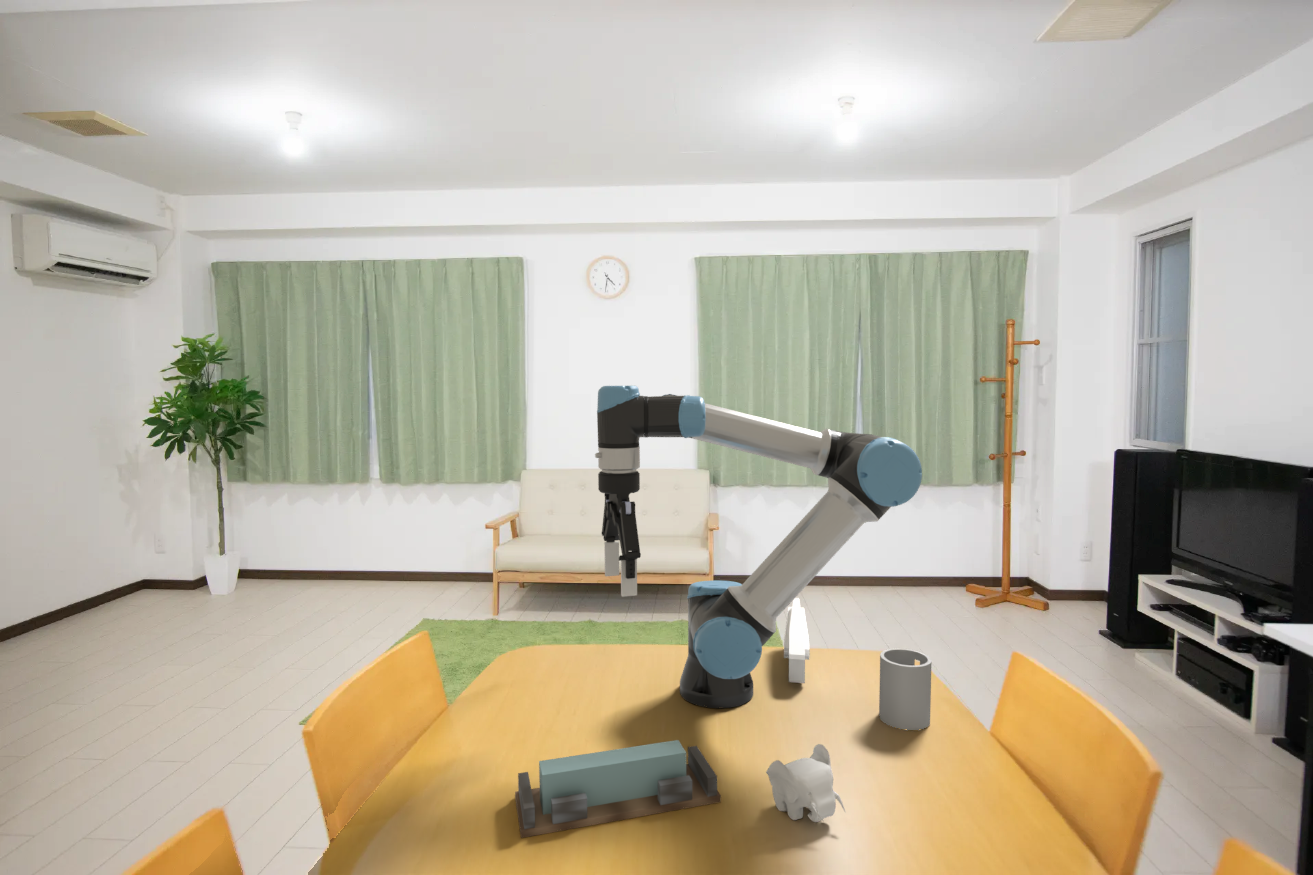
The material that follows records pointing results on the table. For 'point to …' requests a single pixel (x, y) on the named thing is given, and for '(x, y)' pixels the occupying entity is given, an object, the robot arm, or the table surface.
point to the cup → (905, 689)
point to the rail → (611, 773)
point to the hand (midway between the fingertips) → (620, 585)
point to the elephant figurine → (805, 786)
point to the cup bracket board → (575, 813)
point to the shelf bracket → (796, 642)
